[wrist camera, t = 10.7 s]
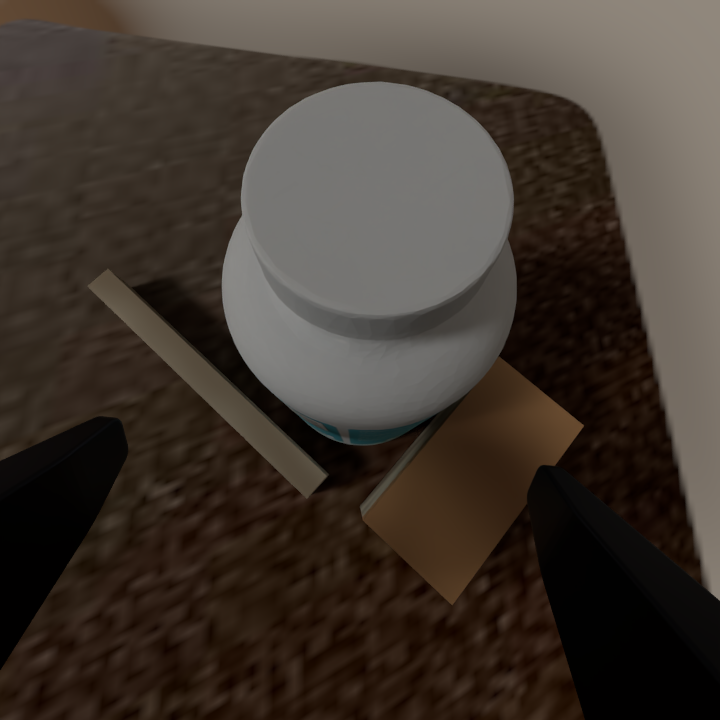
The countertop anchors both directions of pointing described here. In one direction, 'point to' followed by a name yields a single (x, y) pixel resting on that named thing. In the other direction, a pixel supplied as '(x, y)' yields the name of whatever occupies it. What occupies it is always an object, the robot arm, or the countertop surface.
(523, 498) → the block
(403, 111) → the pill bottle
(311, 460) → the rail
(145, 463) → the countertop surface
